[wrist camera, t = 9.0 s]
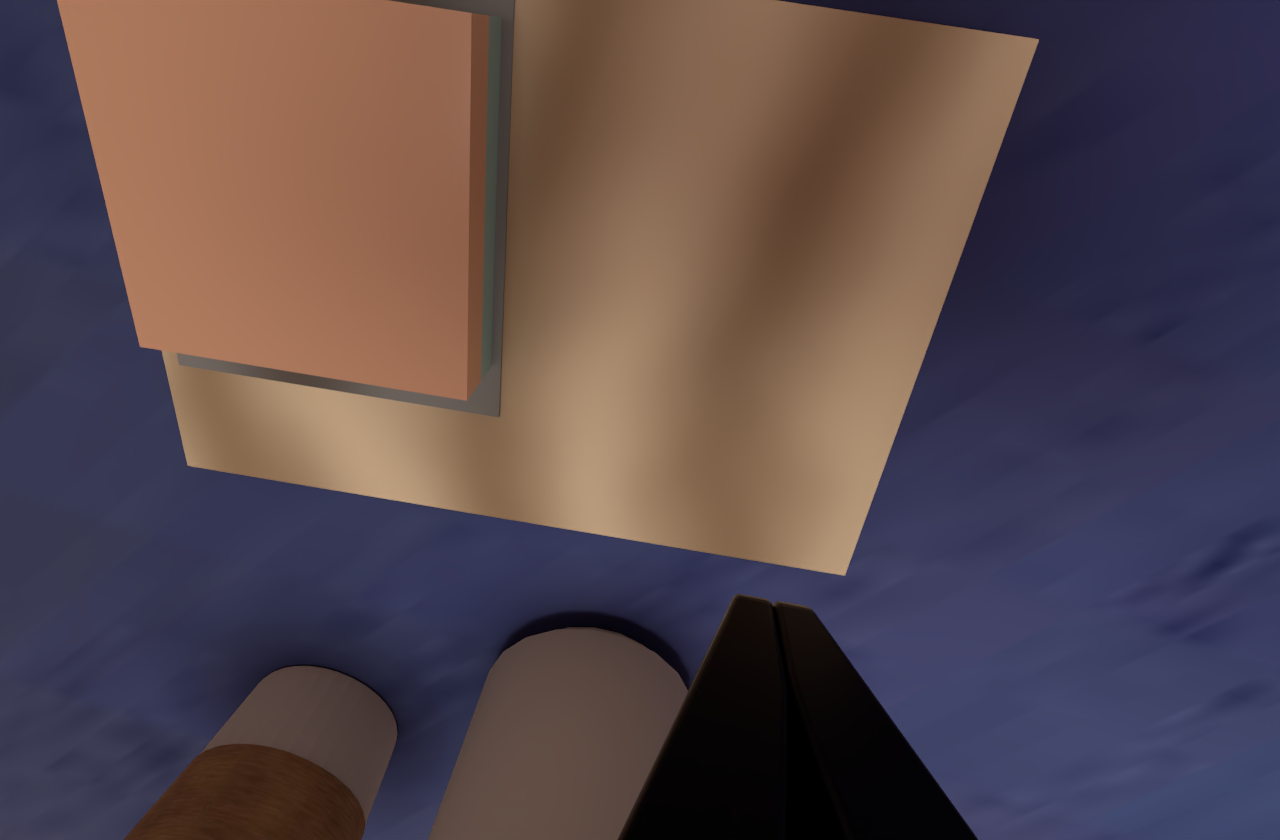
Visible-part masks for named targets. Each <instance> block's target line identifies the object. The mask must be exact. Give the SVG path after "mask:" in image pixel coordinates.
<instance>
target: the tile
mask: <svg viewBox="0 0 1280 840" xmlns="http://www.w3.org/2000/svg"><path fill="white" fill-rule="evenodd" d="M57 2H58V6H59V10H60V15H61V19H62V23H63V27H64V31H65V35H66V40H67V44H68V48H69V52H70V56H71V61H72V65H73V69H74V73H75V77H76V81H77V86H78V90H79V94H80V98H81V102H82V106H83V111H84V115H85V119H86V123H87V127H88V132H89V136H90V140H91V144H92V148H93V152H94V157H95V161H96V165H97V169H98V173H99V177H100V182H101V186H102V190H103V194H104V198H105V203H106V207H107V211H108V215H109V219H110V223H111V228H112V232H113V236H114V240H115V244H116V248H117V253H118V257H119V261H120V265H121V269H122V274H123V278H124V282H125V286H126V290H127V294H128V299H129V303H130V307H131V311H132V315H133V319H134V324H135V328H136V332H137V336H138V340H139V345H140V347H145V348H151V349H157V350H163V351H169V352H175V353H181V354H187V355H193V356H199V357H205V358H211V359H217V360H223V361H229V362H235V363H241V364H247V365H253V366H259V367H265V368H272V369H278V370H284V371H290V372H296V373H302V374H308V375H314V376H320V377H326V378H332V379H338V380H344V381H350V382H356V383H362V384H368V385H374V386H380V387H386V388H392V389H399V390H405V391H411V392H417V393H423V394H429V395H435V396H441V397H447V398H453V399H459V400H465V401H467V400H468V399H469V397H470V396H471V394H472V393H473V392H474V390H475V389H476V387H477V386H478V384H479V383H480V382H481V380H482V379H483V377H484V376H485V375H486V373H487V372H488V370H489V369H490V367H491V353H492V321H493V288H494V255H495V222H496V189H497V156H498V123H499V90H500V57H501V24H502V17H497V16H491V15H484V14H478V13H471V12H465V11H458V10H451V9H445V8H438V7H432V6H425V5H419V4H412V3H406V2H399V1H393V0H57Z"/></svg>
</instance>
